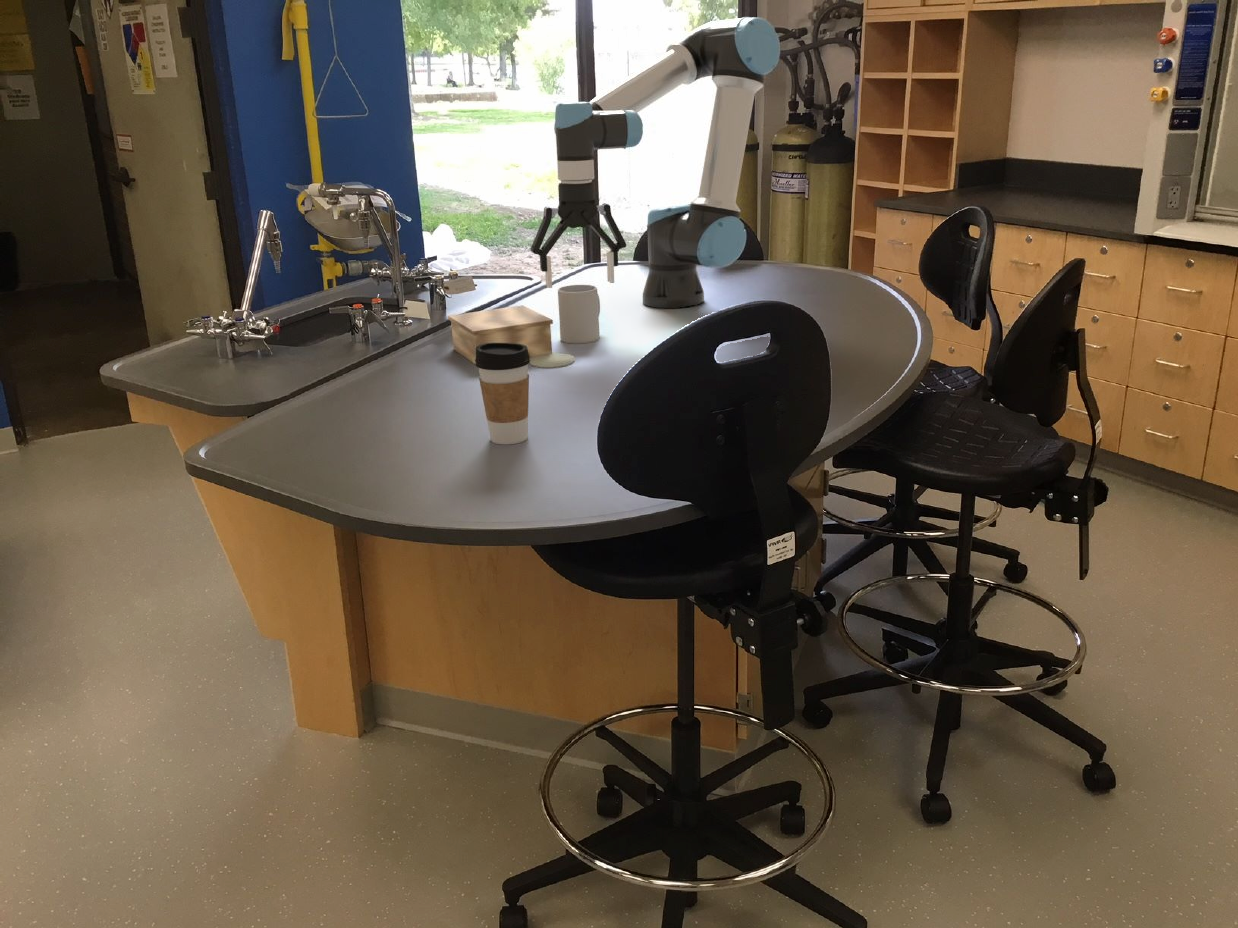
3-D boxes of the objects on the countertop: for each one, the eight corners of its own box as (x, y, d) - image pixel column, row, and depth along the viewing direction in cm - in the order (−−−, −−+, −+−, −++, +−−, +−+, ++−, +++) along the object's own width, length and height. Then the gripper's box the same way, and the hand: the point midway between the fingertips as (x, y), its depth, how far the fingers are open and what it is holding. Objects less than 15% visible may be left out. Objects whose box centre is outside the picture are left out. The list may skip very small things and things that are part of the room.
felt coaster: (568, 353, 207) (568, 351, 207) (579, 364, 199) (579, 362, 199) (525, 358, 205) (525, 356, 205) (534, 369, 197) (534, 367, 197)
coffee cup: (483, 431, 164) (475, 341, 158) (535, 428, 164) (529, 337, 159) (481, 449, 156) (472, 354, 150) (536, 445, 156) (529, 351, 151)
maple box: (525, 337, 221) (523, 305, 219) (555, 354, 207) (553, 319, 204) (451, 349, 215) (448, 315, 212) (476, 367, 200) (473, 331, 198)
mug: (586, 345, 213) (583, 293, 209) (552, 341, 217) (549, 290, 213) (615, 332, 223) (613, 283, 219) (583, 329, 227) (580, 280, 223)
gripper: (629, 177, 215) (631, 277, 222) (513, 183, 208) (519, 285, 216) (639, 180, 208) (641, 283, 215) (520, 186, 202) (526, 292, 209)
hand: (580, 284), depth 216 cm, fingers open, 13 cm apart
